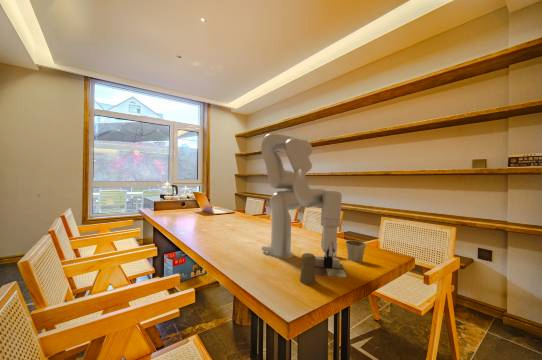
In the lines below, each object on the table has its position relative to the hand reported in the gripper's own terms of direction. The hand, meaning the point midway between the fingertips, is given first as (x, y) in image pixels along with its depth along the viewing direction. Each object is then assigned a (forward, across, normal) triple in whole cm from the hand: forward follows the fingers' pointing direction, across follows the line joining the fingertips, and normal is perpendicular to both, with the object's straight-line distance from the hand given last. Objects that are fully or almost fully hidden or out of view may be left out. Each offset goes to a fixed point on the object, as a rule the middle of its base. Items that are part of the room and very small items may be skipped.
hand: (327, 266), depth 95 cm
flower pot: (+3, -17, +15) cm, 23 cm away
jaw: (+1, -4, -2) cm, 5 cm away
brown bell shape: (+3, +11, -8) cm, 14 cm away
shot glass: (+3, -21, +4) cm, 21 cm away
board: (+3, -2, -1) cm, 4 cm away
